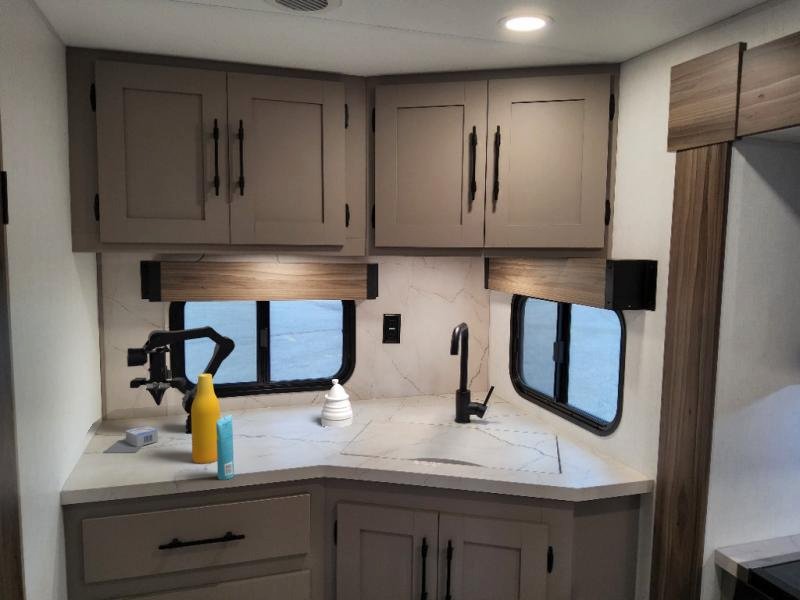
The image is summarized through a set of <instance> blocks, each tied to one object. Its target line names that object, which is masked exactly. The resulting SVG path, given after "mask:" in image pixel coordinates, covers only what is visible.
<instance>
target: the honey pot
mask: <svg viewBox="0 0 800 600" xmlns="http://www.w3.org/2000/svg"><path fill="white" fill-rule="evenodd" d="M331 382H332V383H331V384H332V385H333V386H332V387H331V388H330V389H329V392H328V393H326V394H325V395H324V399H325V402H324V403H323V407H322V409H321V413H320V414H321V419H320V421H321V423H322V425H324V426H328V427H345V426H349V425H351V424H352V423H353V424H354V416H353V415H354V414H353V413H354V410H353V408H352V405H351V402H350V400H349V397H350V395H349V394H348V393H346V390H345V389H344V387H343V386H342V385H341V384H339V379H336V378H335V379H331ZM321 423H320V424H321ZM322 425H321V426H322Z"/></svg>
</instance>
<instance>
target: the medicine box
mask: <svg viewBox="0 0 800 600" xmlns="http://www.w3.org/2000/svg"><path fill="white" fill-rule="evenodd" d="M124 431H125V440H126V442H127V443H129V444H131V445H134V446H136V447H139V446H143V445H144V446H145V445H150V444H152V443H153V444H155V443H156V442H159V434H158V429H156V428H153V427H151V426H148V425H143V426H142V425H141V426H138V427H134V428H131V429H127V430H124ZM144 446H143V447H144Z"/></svg>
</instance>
